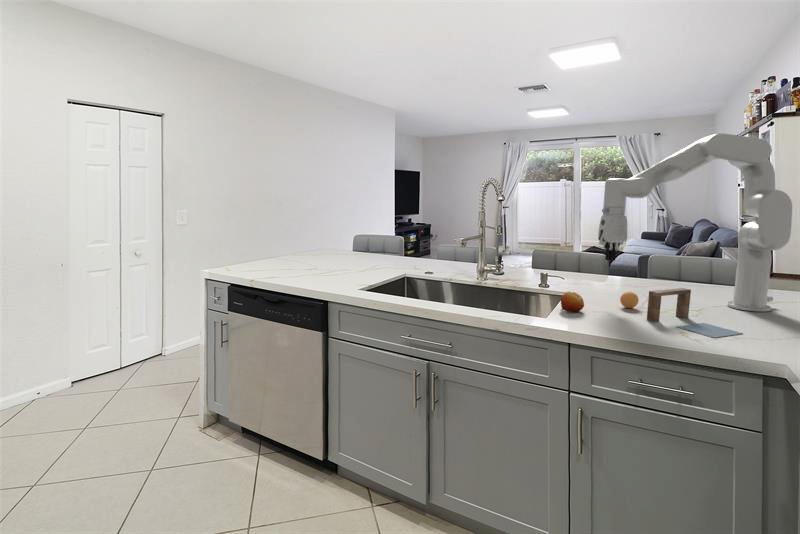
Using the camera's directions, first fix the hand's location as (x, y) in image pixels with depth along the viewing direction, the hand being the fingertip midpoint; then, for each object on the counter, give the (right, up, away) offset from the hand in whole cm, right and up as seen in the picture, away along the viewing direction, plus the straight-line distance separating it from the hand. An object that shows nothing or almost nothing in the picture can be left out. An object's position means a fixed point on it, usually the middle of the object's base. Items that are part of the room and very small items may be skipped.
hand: (610, 260), depth 171 cm
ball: (+4, -15, -7) cm, 17 cm away
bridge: (+9, -20, -22) cm, 31 cm away
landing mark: (+14, -22, -35) cm, 43 cm away
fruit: (-19, -19, -12) cm, 29 cm away
